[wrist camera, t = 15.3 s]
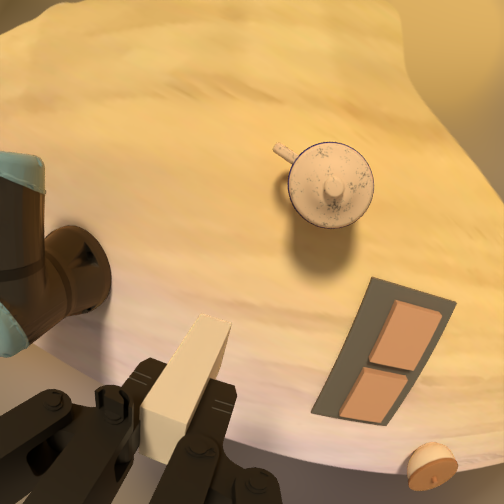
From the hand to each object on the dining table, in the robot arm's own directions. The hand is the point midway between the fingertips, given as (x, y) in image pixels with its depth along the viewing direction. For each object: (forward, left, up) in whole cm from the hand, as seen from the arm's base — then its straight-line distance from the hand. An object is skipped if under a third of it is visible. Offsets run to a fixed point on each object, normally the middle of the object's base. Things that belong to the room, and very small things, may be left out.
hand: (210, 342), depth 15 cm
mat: (+23, -16, -29) cm, 41 cm away
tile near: (+20, -10, -28) cm, 36 cm away
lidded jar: (+45, -36, -30) cm, 65 cm away
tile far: (+20, -22, -28) cm, 41 cm away
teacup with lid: (+4, +8, -30) cm, 31 cm away
